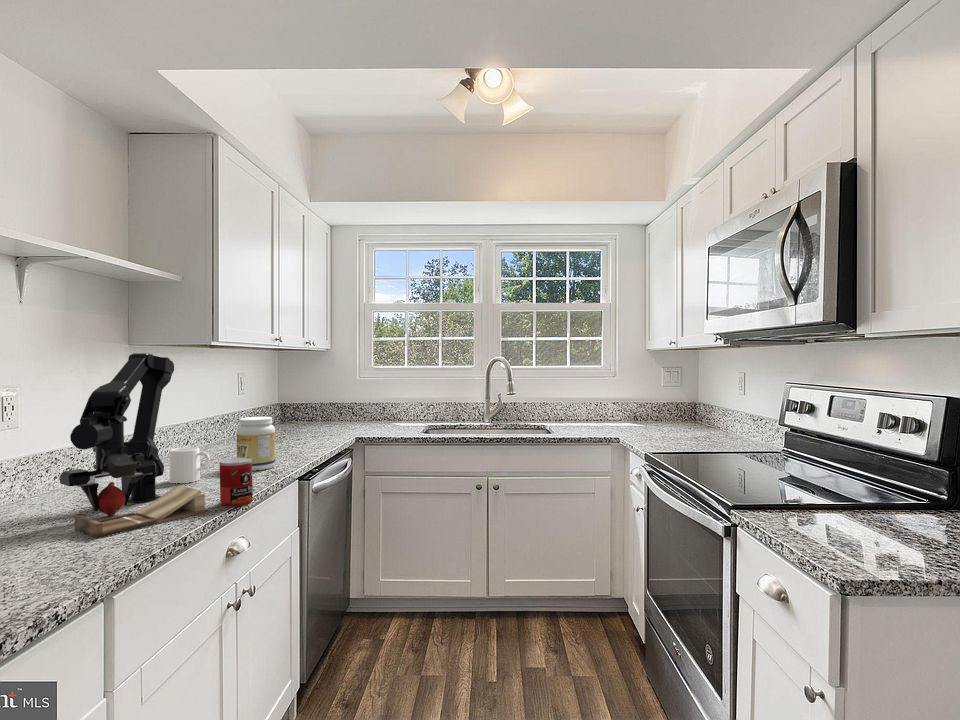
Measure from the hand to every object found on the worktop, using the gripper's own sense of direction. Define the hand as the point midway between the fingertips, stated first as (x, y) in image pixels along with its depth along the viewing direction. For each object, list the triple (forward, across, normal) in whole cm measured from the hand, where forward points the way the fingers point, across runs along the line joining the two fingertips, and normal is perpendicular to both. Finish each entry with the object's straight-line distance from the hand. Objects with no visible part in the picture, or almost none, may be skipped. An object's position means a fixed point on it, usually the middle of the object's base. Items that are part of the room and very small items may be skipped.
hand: (110, 508), depth 135 cm
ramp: (+2, +8, -11) cm, 14 cm away
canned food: (+2, +23, -15) cm, 28 cm away
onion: (+2, 0, 0) cm, 2 cm away
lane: (+2, +2, -11) cm, 11 cm away
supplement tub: (+2, +54, +22) cm, 58 cm away
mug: (+2, +31, +21) cm, 38 cm away
